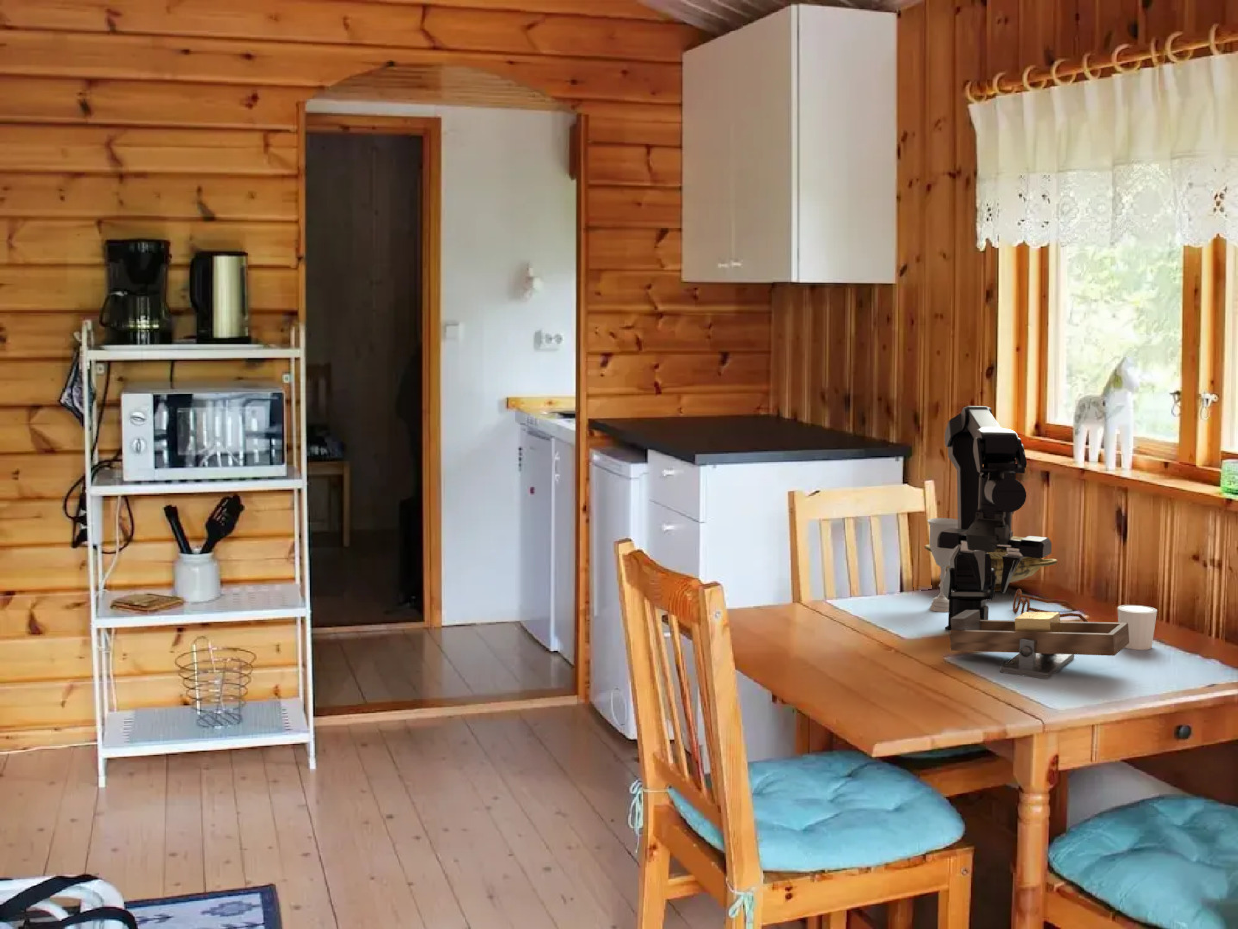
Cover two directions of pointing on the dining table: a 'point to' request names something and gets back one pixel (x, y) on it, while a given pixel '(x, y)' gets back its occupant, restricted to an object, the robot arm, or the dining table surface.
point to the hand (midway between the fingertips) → (992, 591)
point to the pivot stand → (1035, 661)
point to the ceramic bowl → (1022, 570)
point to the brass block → (1038, 622)
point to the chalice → (941, 557)
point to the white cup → (1138, 625)
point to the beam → (1036, 636)
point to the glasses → (1041, 601)
